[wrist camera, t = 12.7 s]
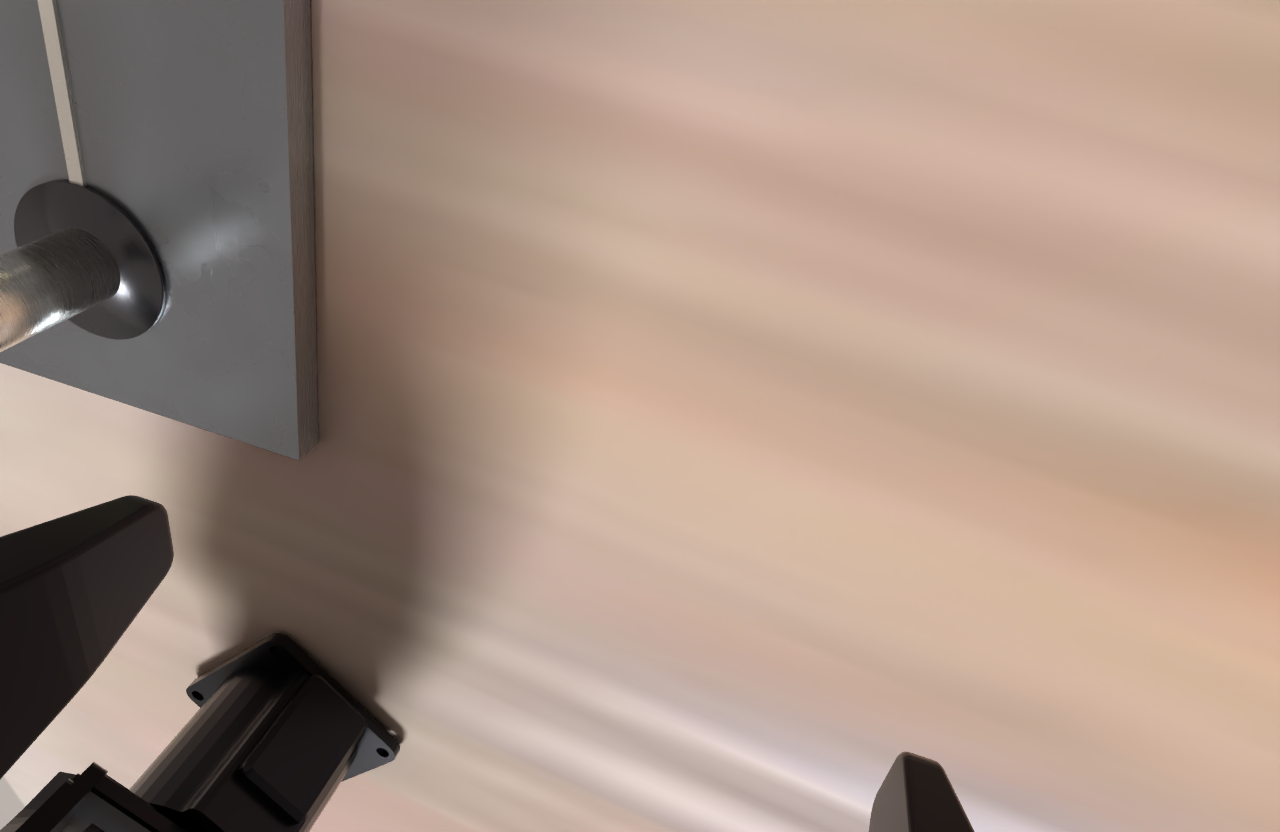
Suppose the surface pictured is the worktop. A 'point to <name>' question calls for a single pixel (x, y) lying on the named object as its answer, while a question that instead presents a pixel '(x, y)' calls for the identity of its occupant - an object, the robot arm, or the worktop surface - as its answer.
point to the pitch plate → (163, 208)
